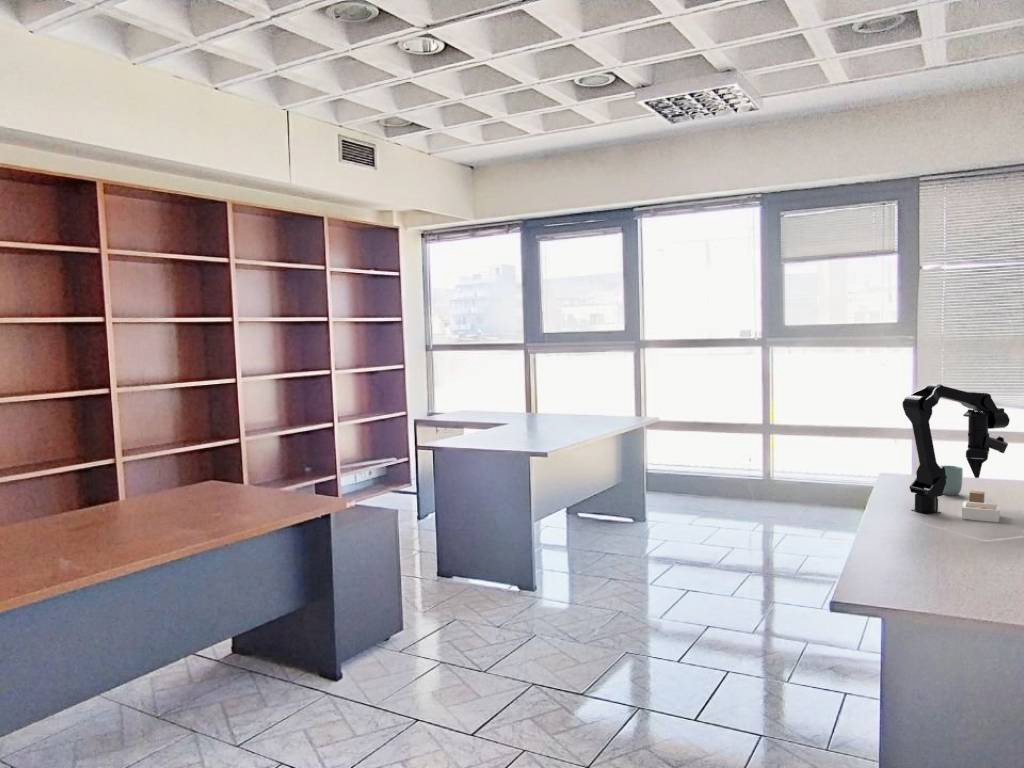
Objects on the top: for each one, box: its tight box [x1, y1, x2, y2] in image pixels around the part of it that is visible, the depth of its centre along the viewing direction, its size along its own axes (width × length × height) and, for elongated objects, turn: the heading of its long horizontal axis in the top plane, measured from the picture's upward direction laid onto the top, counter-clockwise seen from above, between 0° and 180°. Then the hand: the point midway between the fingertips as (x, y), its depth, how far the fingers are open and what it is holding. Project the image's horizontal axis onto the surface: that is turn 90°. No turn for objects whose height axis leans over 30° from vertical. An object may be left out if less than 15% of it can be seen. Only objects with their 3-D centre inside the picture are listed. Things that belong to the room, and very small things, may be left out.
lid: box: [968, 490, 985, 503], centre depth 264 cm, size 10×10×6 cm
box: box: [961, 501, 1001, 523], centre depth 250 cm, size 10×10×4 cm
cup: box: [941, 465, 963, 496], centre depth 286 cm, size 8×8×10 cm
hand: (977, 475), depth 264 cm, fingers open, 9 cm apart
